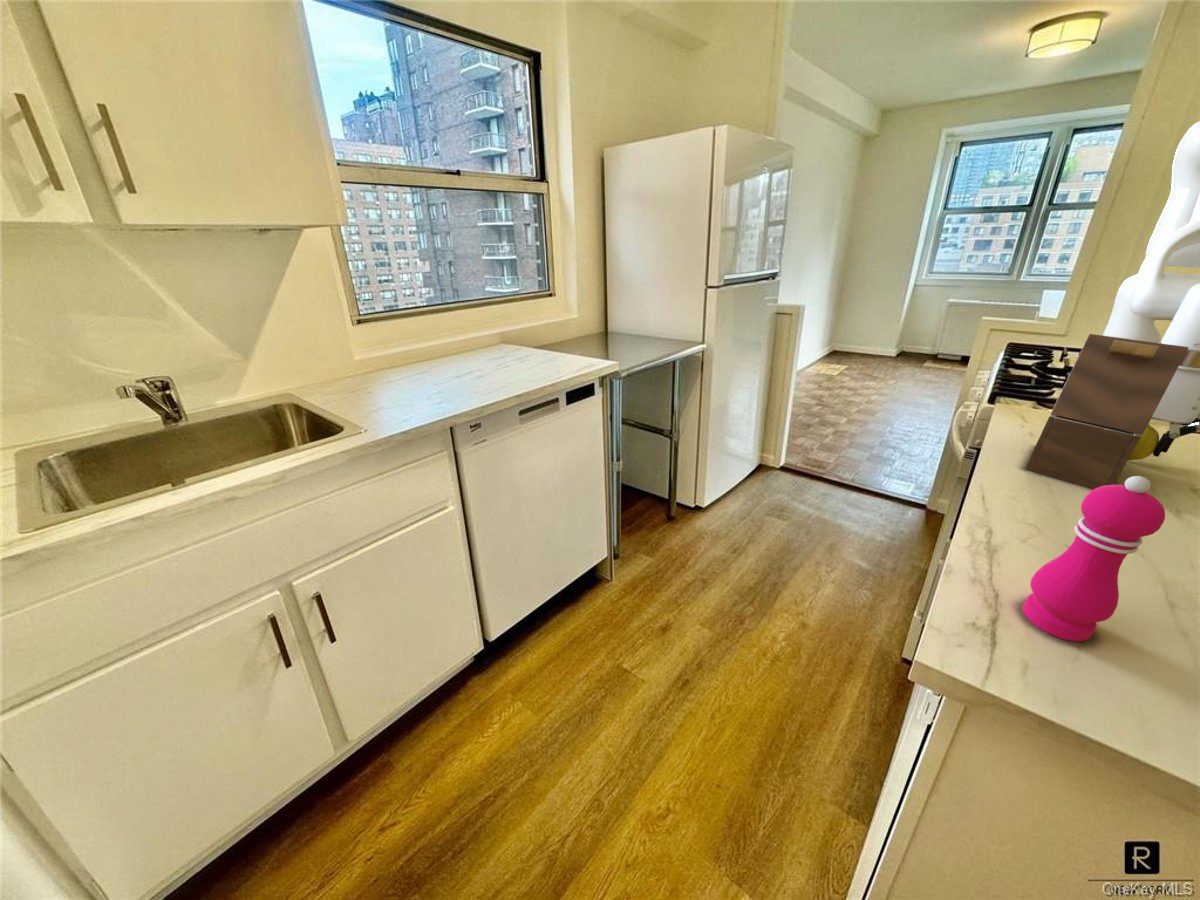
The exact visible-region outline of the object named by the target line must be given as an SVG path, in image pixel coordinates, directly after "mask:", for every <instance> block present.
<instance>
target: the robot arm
mask: <svg viewBox="0 0 1200 900" xmlns="http://www.w3.org/2000/svg"><path fill="white" fill-rule="evenodd" d="M1173 158H1174V159H1173V163H1172V172H1171V189H1170V194H1169V197H1168V199H1167V202H1166V204H1165V207H1164V208H1163V211H1162V213H1161V215H1160V217H1159V219H1158V221H1157V223H1156V226H1155V228H1154V231H1153V233H1152V235H1151V237H1150V239H1149V243H1148V244H1147V247H1146V250H1145V259H1144V260H1143V262H1142V264H1141V266H1140V268H1139V271H1138V273H1137V274H1134V275H1132V276H1130V277H1128V278H1127V279H1125V280H1124V281H1123V282H1122V284H1121V285H1119V288H1118V290H1117V293H1116V295H1115V299H1114V303H1113V305H1112V310H1111V314H1110V317H1109V320H1108V322H1107V324H1106V327H1105V329H1104V331H1103V333H1102V336H1110V337H1117V338H1125V339H1132V340H1139V341H1147V342H1154V343H1162V344H1169V345H1176V346H1184V347H1189V348H1188V350H1187V352H1186V354H1185V355H1184V357H1183V359H1182V361H1181V363H1180V365H1179V367H1178V369H1177V371H1176V372H1175V374H1174V376H1173V378H1172V380H1171V382H1170V384H1169V386H1168V388H1167V389H1166V391H1165V393H1164V395H1163V397H1162V399H1161V401H1160V403H1159V405H1158V406H1157V408H1156V410H1155V412H1154V414H1153V416H1152V418H1151V419H1154V420H1158V421H1163V422H1168V423H1169V429H1168V430H1166V432H1164V433H1163V434H1162V435H1161V437H1160V438H1159V443H1158V446H1157V448H1156V449H1155V451H1154V452H1153V453H1152V456H1153V457H1157V458H1159V456H1160V455H1161V453H1165V454H1166V453H1167V452H1168V451H1169V449H1170V448H1171V446H1172V444H1173V443H1174V441H1175V439H1179V438H1180V437H1183V436H1187V435H1190V434H1194V433H1196V432H1200V421H1198V422H1195V423H1194V421H1195V420H1196V419H1197V418H1198V420H1200V274H1192V273H1191V274H1188V273H1181V272H1180V273H1179V272H1177V273H1176V272H1165V269H1166V266H1168V267H1180V268H1198V269H1200V121H1198V122H1196V123H1195V124H1193V125H1192V126H1191V127H1190V128H1189V129H1188V130H1186V132H1185V133H1184V135H1183V137H1182V138H1181V140H1180V141H1179V144H1178V146H1177V149H1176V151H1175V155H1174V157H1173ZM1155 321H1170V324H1169V326H1168V327H1167V329H1166V331H1165V333H1164V334H1163V337H1161V334H1160V332H1159V330H1158V328H1157V326H1156V325H1155ZM1184 424H1185V425H1184ZM1181 425H1182V426H1181Z"/></svg>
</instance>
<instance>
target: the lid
mask: <svg viewBox="0 0 1200 900" xmlns="http://www.w3.org/2000/svg"><path fill="white" fill-rule="evenodd" d="M1102 335H1103V334H1102ZM1102 335H1101V334H1096V333H1095V334H1093V333H1089V334H1088V336H1087V338H1086V340H1085V342H1084V344H1083V346H1082V348H1081V350H1080V352H1079V354H1078V356H1077V358H1076V360H1075V362H1074V365H1073V367H1072V368H1071V371H1070V372H1069V375H1068V376H1067V379H1066V381H1065V382H1064V385H1063V387H1062V388H1061V391H1060V393H1059V396H1058V397H1057V399H1056V402H1055V403H1054V406H1053V408H1052V410H1051V412H1050V415H1055V416H1060V417H1064V418H1068V419H1073V420H1077V421H1082V422H1086V423H1091V424H1095V425H1100V426H1104V427H1108V428H1113V429H1117V430H1122V431H1126V432H1131V433H1135V434H1140V435H1142V434H1143V433H1144V431H1145V429H1146V427H1147V425H1148V424H1149V423H1150V421H1151V419H1153V418H1152V416H1153V414H1154V412H1155V410H1156V408H1157V406H1158V405H1159V403H1160V401H1161V399H1162V397H1163V395H1164V393H1165V391H1166V389H1167V388H1168V386H1169V384H1170V382H1171V380H1172V378H1173V376H1174V374H1175V372H1176V371H1177V369H1178V367H1179V365H1180V363H1181V361H1182V359H1183V357H1184V355H1185V354H1186V352H1187V350H1188V348H1189V347H1184V346H1176V345H1169V344H1162V343H1154V342H1147V341H1139V340H1132V339H1125V338H1117V337H1110V336H1102Z"/></svg>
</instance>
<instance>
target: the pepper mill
mask: <svg viewBox="0 0 1200 900" xmlns="http://www.w3.org/2000/svg"><path fill="white" fill-rule="evenodd" d="M1151 485H1152V484H1151V481H1150V480H1149V479H1148V478H1146V477H1144V476H1141V475H1134V476H1133V475H1132V476H1130V477H1128V478H1126V480H1125V481H1124V485H1123V484H1114V485H1105V486H1101V487H1098V488H1096V489H1092V490H1090V491H1089V492H1088V493H1087V494H1086V495H1085V497H1084V498H1083V499H1082V502H1081V505H1080V511H1081V514H1082V515H1083V517H1081V518H1079V519H1078V522H1077V525H1075V526H1074V528H1073V530H1074V533H1075V534H1076V535H1075V538H1074V540H1073V541H1072V542H1071V544H1070V545H1069V546H1068V548H1067V549H1066V550H1065V551H1063V553H1061V554H1060V555H1059V556H1057V557H1056V558H1054V559H1052V560H1050V561H1048V562H1047V563H1045V564H1043V565H1042V566H1041V567H1040V568H1039V569H1037V571H1036V572H1034V574H1033V576H1032V578H1031V579H1030V584H1029V585H1030V589H1031V591H1032V592H1031V593H1029V595H1028V596H1027V598H1026V599H1025V601H1024V603H1023V605H1022V611H1023V614H1024V615H1025V617H1026V618H1027V619H1028V620H1029V621H1030V623H1031V624H1033V625H1034V626H1035V627H1037V628H1039V629H1040V630H1042V631H1044V632H1045V633H1047V634H1049V635H1051V636H1054V637H1056V638H1059V639H1062V640H1065V641H1070V642H1083V641H1084V642H1085V641H1087V640H1089V639H1090V638H1091V637H1092V635H1093V633H1094V632H1095V630H1096V628H1097V626H1098V624H1097V623H1099V622H1105V621H1107V620H1108V619H1110V618H1111V617H1112V616H1113V615H1114V613H1115V611H1116V609H1117V607H1118V603H1119V598H1120V594H1119V583H1118V582H1119V581H1118V580H1119V572H1120V568H1121V566H1122V564H1123V561H1124V560H1125V559H1126V557H1127V556H1128V555H1130V554H1135V553H1137V552H1138V550H1139V546H1141V545H1142V544H1143V541H1144V540H1143V537H1147V536H1151V535H1153V534H1155V533H1156V532H1158V531H1159V530H1160V529H1161V528H1162V526H1163V525H1164V523H1165V519H1166V511H1165V508H1164V506H1163V504H1162V503H1161V501H1160V500H1159V499H1157V498H1156V497H1155V496H1153V495H1152V494H1150V493H1149V492H1148V491H1149V490H1150V489H1151Z"/></svg>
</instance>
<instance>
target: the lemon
mask: <svg viewBox="0 0 1200 900" xmlns="http://www.w3.org/2000/svg"><path fill="white" fill-rule="evenodd" d="M1159 440H1160V434H1159V432H1158V431H1157V430H1156V429H1155V428H1154V427H1153V426H1151V425H1150V424H1149V423H1148V425H1147V427H1146V429H1145V431H1144V433H1143V434H1142V435H1141V438H1140V439H1139V441H1138V443H1137V445H1136V446H1135V448H1134V450H1133V452H1132V453H1131V455H1130V457H1129V459H1128V460H1127V462H1131V461H1139V460H1140V461H1141V460H1143V459H1146V458H1148V457H1150V455H1153V452H1154V451H1155V449H1156V448H1157V446H1158V443H1159Z"/></svg>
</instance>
